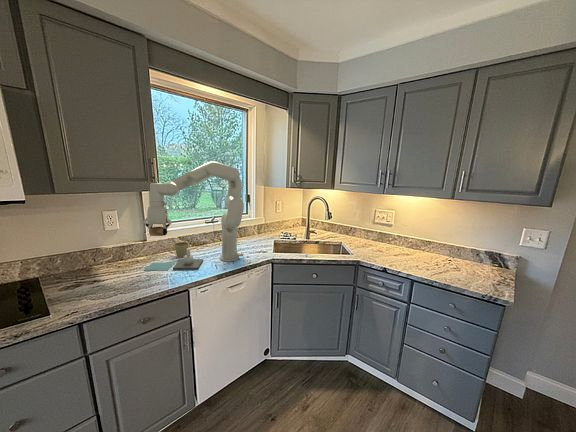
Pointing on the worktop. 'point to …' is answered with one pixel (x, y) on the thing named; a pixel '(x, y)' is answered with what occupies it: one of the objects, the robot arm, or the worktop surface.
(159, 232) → the walnut link
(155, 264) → the mat
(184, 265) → the stand
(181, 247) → the flower pot
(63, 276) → the worktop surface
